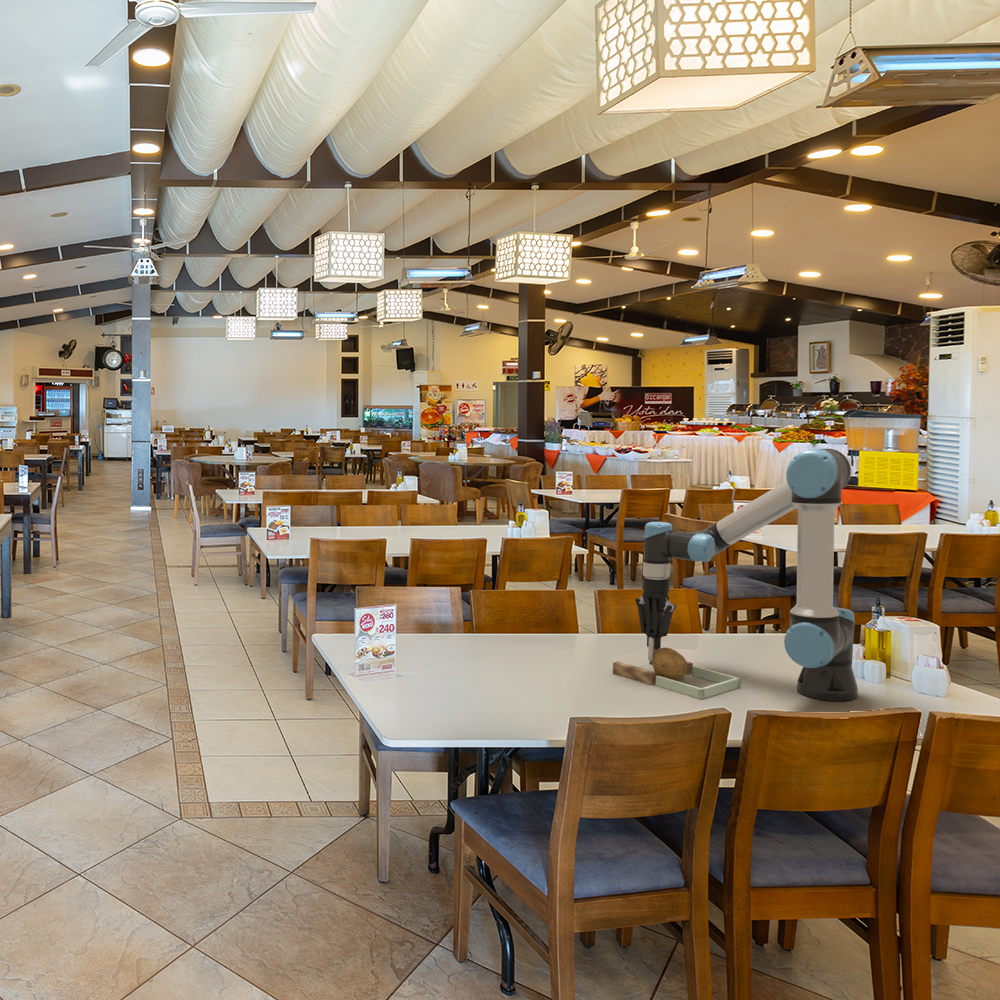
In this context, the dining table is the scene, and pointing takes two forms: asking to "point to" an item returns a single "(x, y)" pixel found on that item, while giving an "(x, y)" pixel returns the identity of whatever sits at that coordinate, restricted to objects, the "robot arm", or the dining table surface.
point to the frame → (722, 686)
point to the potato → (669, 664)
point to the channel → (640, 672)
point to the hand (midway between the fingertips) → (653, 659)
